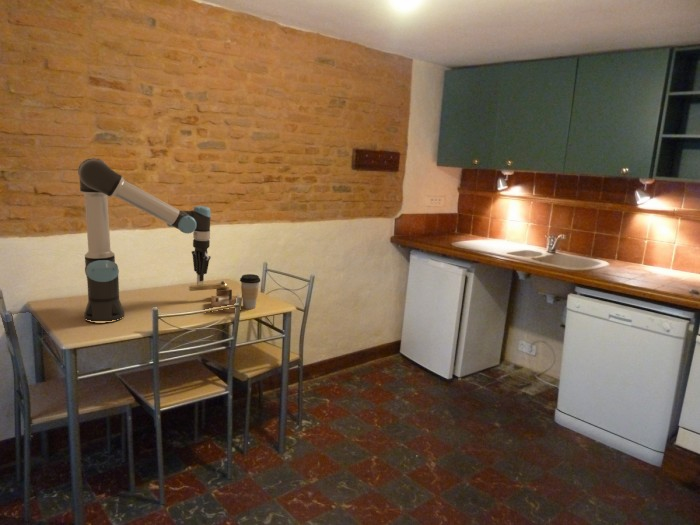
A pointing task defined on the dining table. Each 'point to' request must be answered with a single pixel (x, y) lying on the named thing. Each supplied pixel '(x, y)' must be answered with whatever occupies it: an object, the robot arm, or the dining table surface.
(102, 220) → the robot arm
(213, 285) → the latch bar
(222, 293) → the jamb block
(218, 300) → the tan stepped block
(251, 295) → the coffee cup
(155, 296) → the dining table surface
